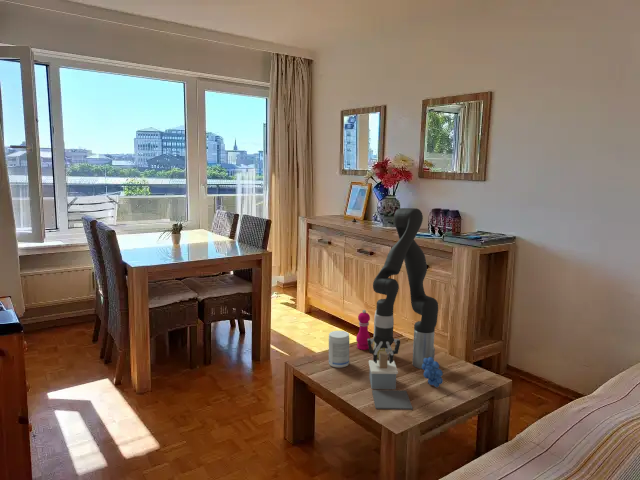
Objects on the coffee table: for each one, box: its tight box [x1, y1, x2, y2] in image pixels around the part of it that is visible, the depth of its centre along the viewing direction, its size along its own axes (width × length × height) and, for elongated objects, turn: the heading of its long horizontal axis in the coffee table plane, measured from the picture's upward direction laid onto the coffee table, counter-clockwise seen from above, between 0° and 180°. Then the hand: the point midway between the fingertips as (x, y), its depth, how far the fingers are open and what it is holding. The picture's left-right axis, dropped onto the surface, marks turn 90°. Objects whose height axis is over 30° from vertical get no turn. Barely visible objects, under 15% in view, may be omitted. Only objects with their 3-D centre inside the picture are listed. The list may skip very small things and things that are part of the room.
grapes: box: [421, 357, 444, 388], centre depth 197 cm, size 12×7×12 cm, turn 31°
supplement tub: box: [328, 330, 350, 369], centre depth 217 cm, size 10×10×15 cm
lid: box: [368, 351, 399, 375], centre depth 198 cm, size 11×11×6 cm
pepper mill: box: [355, 309, 371, 351], centre depth 236 cm, size 7×7×20 cm
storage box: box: [369, 370, 397, 390], centre depth 199 cm, size 10×10×7 cm
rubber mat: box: [371, 389, 413, 411], centre depth 186 cm, size 14×14×1 cm
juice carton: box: [372, 311, 390, 360], centre depth 226 cm, size 9×8×24 cm
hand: (382, 362), depth 198 cm, fingers open, 5 cm apart
